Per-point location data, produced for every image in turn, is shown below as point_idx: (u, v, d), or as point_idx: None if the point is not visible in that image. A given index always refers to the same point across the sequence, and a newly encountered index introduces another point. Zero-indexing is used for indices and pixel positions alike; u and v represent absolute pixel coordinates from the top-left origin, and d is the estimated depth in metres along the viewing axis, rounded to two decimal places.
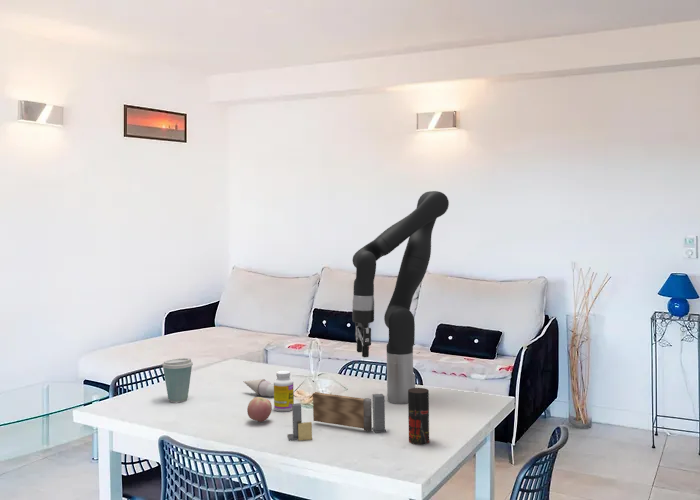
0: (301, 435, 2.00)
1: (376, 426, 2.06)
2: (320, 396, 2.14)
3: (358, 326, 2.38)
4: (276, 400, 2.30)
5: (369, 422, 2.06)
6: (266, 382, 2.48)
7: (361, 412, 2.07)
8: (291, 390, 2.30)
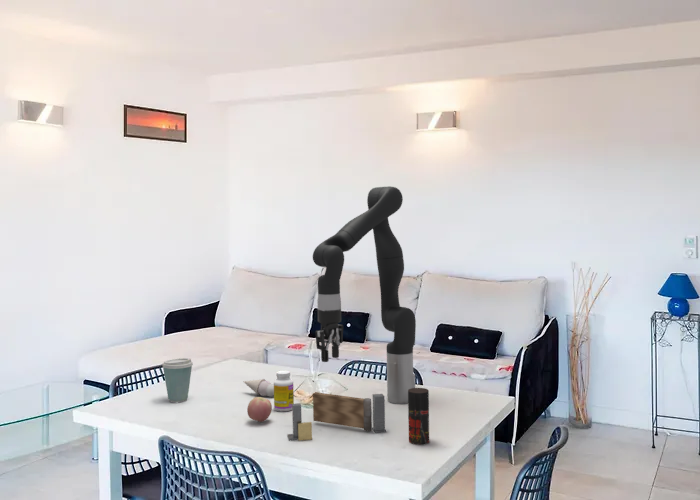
0: (301, 435, 2.00)
1: (376, 426, 2.06)
2: (320, 396, 2.14)
3: (328, 330, 2.15)
4: (276, 400, 2.30)
5: (369, 422, 2.06)
6: (266, 382, 2.48)
7: (361, 412, 2.07)
8: (291, 390, 2.30)
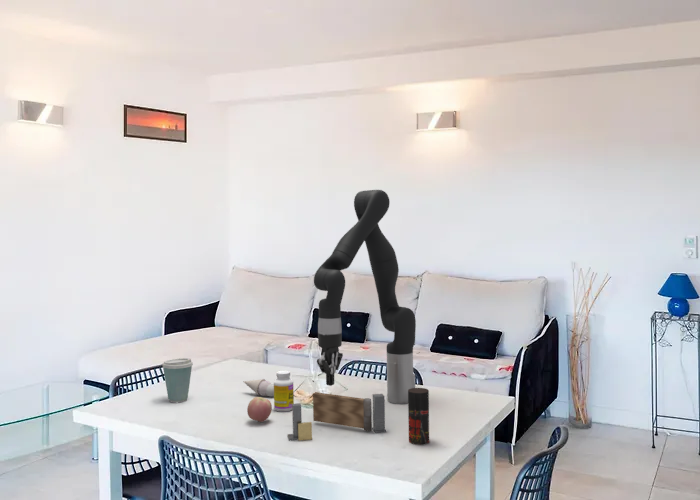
0: (301, 435, 2.00)
1: (376, 426, 2.06)
2: (320, 396, 2.14)
3: (329, 356, 2.16)
4: (276, 400, 2.30)
5: (369, 422, 2.06)
6: (266, 382, 2.48)
7: (361, 412, 2.07)
8: (291, 390, 2.30)
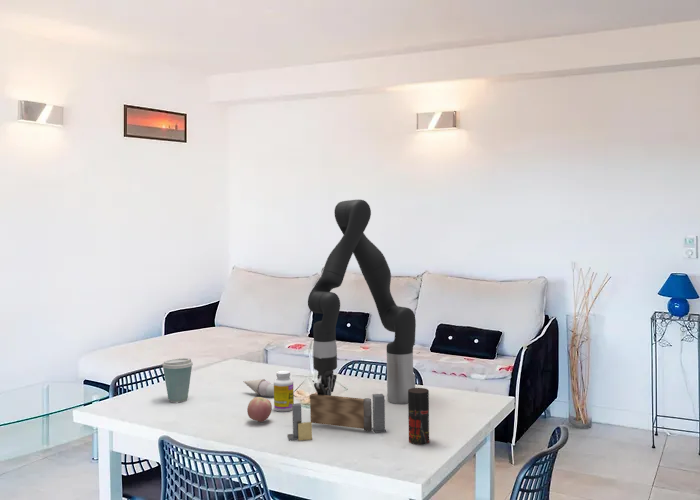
0: (301, 435, 2.00)
1: (376, 426, 2.06)
2: (318, 397, 2.12)
3: (325, 379, 2.14)
4: (276, 400, 2.30)
5: (369, 422, 2.06)
6: (266, 382, 2.48)
7: (361, 412, 2.07)
8: (291, 390, 2.30)
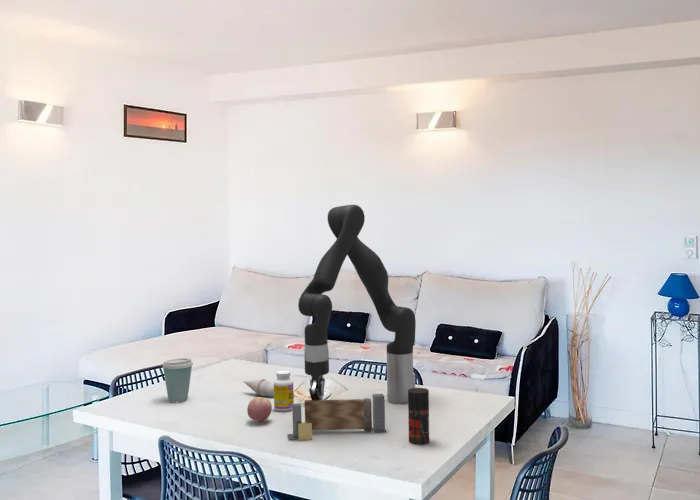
0: (301, 435, 2.00)
1: (376, 426, 2.06)
2: (314, 403, 2.06)
3: (319, 384, 2.09)
4: (276, 400, 2.30)
5: (370, 422, 2.06)
6: (266, 382, 2.48)
7: (362, 413, 2.06)
8: (291, 390, 2.30)
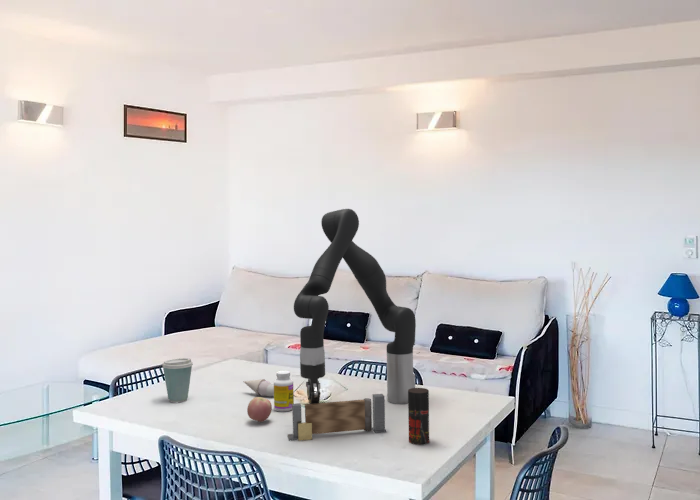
0: (301, 435, 2.00)
1: (376, 426, 2.06)
2: (315, 407, 2.02)
3: (317, 387, 2.05)
4: (276, 400, 2.30)
5: (371, 421, 2.07)
6: (266, 382, 2.48)
7: (362, 413, 2.06)
8: (291, 390, 2.30)
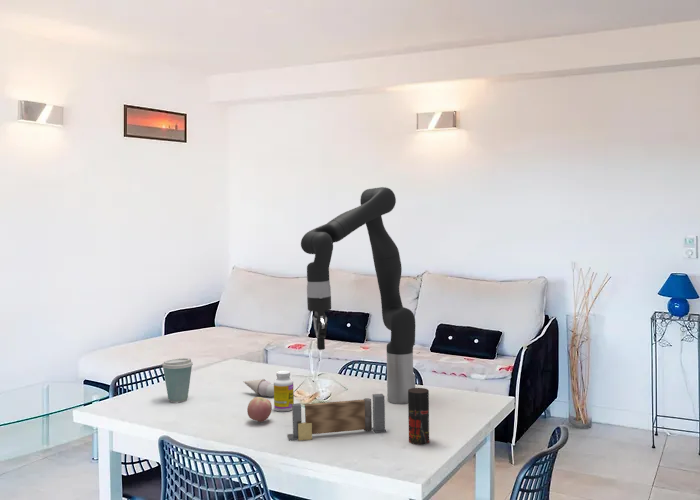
0: (301, 435, 2.00)
1: (376, 426, 2.06)
2: (315, 407, 2.02)
3: (324, 319, 2.14)
4: (276, 400, 2.30)
5: (371, 421, 2.07)
6: (266, 382, 2.48)
7: (362, 413, 2.06)
8: (291, 390, 2.30)
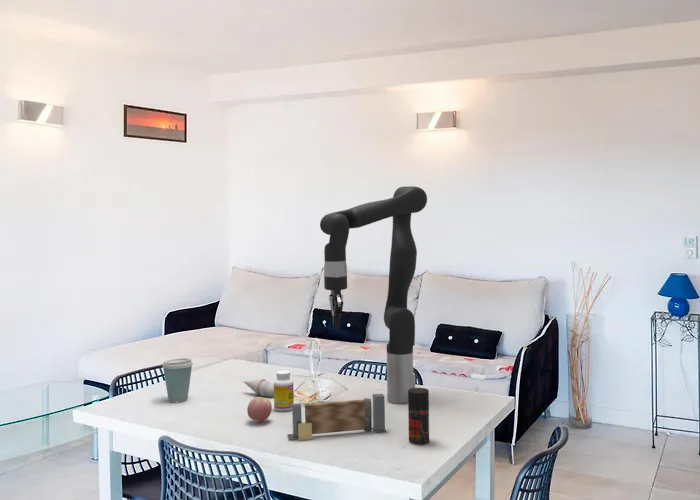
0: (301, 435, 2.00)
1: (376, 426, 2.06)
2: (315, 407, 2.02)
3: (340, 298, 2.21)
4: (276, 400, 2.30)
5: (371, 421, 2.07)
6: (266, 382, 2.48)
7: (362, 413, 2.06)
8: (291, 390, 2.30)
